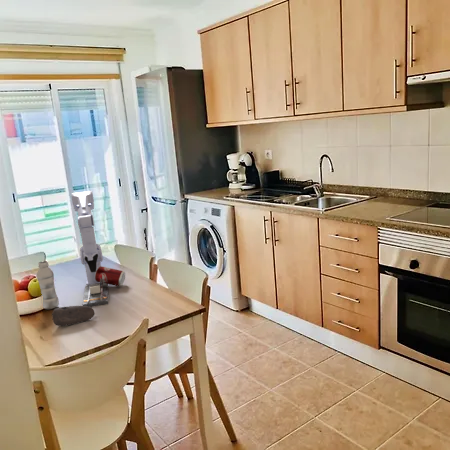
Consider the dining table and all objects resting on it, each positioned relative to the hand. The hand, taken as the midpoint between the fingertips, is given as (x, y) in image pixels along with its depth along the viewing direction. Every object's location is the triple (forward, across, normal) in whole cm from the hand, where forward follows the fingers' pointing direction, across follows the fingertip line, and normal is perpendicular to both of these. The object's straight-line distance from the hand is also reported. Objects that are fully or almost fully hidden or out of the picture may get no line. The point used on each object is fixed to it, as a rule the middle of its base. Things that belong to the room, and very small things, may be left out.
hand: (93, 271), depth 196 cm
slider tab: (+8, -6, 0) cm, 10 cm away
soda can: (+6, +1, -12) cm, 14 cm away
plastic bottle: (+10, -12, +18) cm, 23 cm away
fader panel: (+9, -6, 0) cm, 11 cm away
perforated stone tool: (+10, -32, +7) cm, 34 cm away
